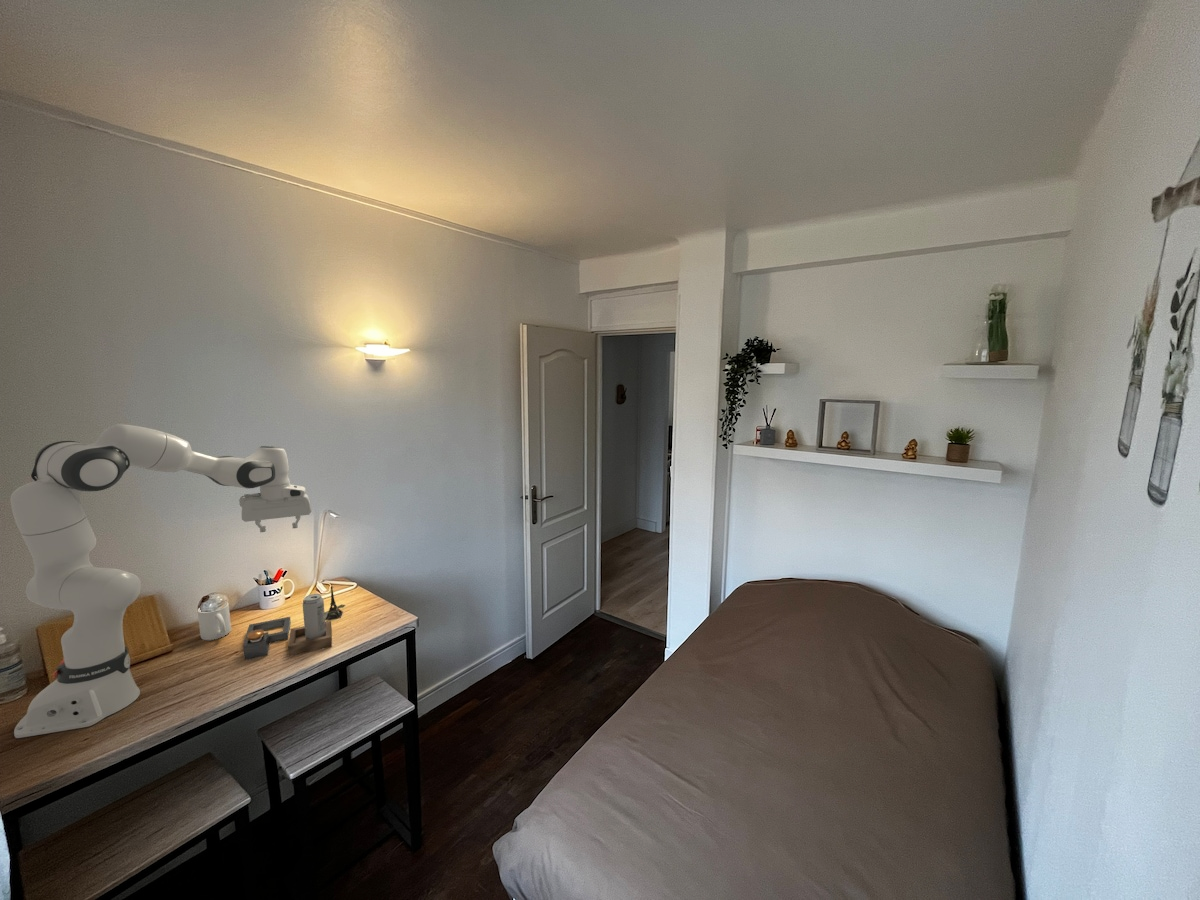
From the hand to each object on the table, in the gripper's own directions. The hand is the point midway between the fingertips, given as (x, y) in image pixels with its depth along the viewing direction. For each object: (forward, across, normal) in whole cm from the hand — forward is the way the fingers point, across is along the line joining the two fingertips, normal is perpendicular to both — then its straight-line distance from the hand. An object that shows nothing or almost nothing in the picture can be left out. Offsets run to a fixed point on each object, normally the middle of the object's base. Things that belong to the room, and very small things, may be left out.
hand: (279, 529), depth 166 cm
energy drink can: (+34, +9, -19) cm, 40 cm away
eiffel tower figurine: (+36, +14, -2) cm, 39 cm away
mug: (+35, -20, 0) cm, 41 cm away
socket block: (+35, -5, -11) cm, 37 cm away
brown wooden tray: (+35, +8, -19) cm, 41 cm away
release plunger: (+34, -7, -18) cm, 39 cm away
